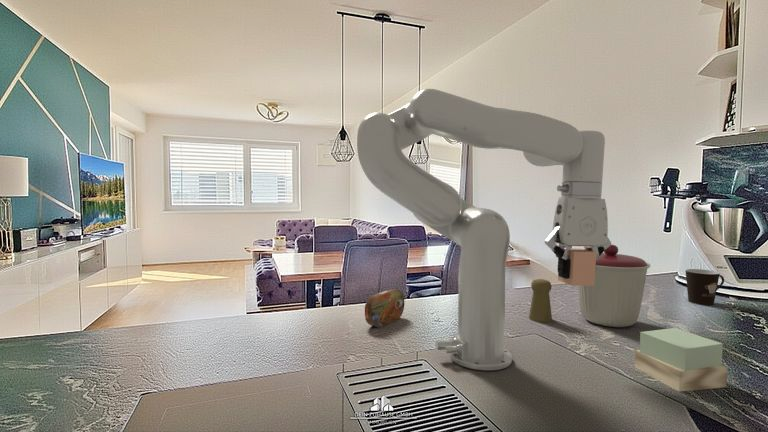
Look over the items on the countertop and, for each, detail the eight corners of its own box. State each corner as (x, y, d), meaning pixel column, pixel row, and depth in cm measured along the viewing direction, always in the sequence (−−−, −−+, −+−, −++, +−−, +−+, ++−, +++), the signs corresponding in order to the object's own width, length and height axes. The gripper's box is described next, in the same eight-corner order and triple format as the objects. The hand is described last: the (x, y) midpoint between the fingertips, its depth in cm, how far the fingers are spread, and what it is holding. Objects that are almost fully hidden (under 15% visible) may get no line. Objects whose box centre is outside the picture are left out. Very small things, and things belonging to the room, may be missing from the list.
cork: (548, 316, 116) (549, 277, 115) (555, 322, 110) (556, 282, 109) (526, 315, 116) (527, 277, 116) (532, 322, 110) (532, 281, 110)
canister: (557, 315, 116) (559, 242, 115) (604, 309, 122) (606, 239, 121) (612, 336, 99) (615, 250, 98) (664, 328, 105) (667, 247, 104)
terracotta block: (572, 285, 83) (574, 251, 83) (557, 280, 88) (559, 248, 88) (594, 285, 84) (596, 251, 84) (578, 280, 89) (580, 248, 89)
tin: (371, 331, 103) (371, 298, 103) (362, 328, 105) (362, 296, 104) (405, 316, 115) (405, 287, 115) (396, 314, 117) (396, 285, 116)
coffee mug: (690, 305, 127) (692, 273, 126) (679, 298, 135) (680, 268, 135) (735, 308, 124) (737, 275, 123) (721, 300, 132) (723, 270, 131)
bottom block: (678, 393, 72) (679, 371, 72) (634, 369, 82) (635, 350, 82) (726, 389, 74) (727, 367, 73) (677, 365, 83) (678, 346, 83)
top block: (684, 371, 72) (685, 348, 72) (639, 351, 81) (640, 332, 80) (721, 365, 74) (722, 343, 74) (674, 347, 83) (675, 327, 83)
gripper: (554, 190, 80) (548, 281, 81) (631, 192, 83) (625, 281, 84) (534, 190, 88) (529, 273, 89) (605, 192, 90) (600, 274, 91)
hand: (576, 276), depth 86 cm, fingers closed on terracotta block, 5 cm apart
